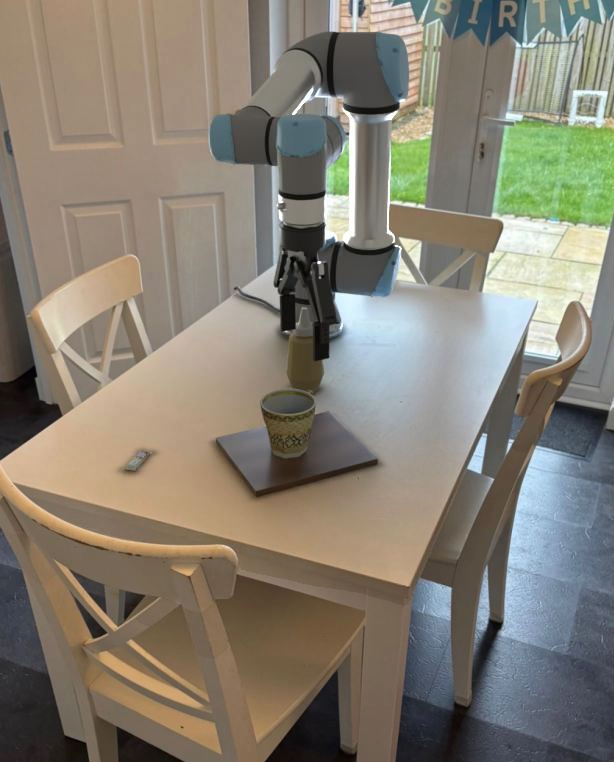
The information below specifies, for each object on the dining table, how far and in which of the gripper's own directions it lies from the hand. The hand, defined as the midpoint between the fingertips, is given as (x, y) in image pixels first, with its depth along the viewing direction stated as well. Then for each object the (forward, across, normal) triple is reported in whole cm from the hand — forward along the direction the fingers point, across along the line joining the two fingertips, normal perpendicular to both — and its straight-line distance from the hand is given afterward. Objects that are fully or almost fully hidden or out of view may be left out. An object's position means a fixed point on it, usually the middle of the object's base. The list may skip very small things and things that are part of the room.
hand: (304, 344), depth 138 cm
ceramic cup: (+19, +2, -3) cm, 20 cm away
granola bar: (+21, -7, -30) cm, 37 cm away
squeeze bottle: (+21, -20, +10) cm, 30 cm away
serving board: (+20, +3, -4) cm, 21 cm away
